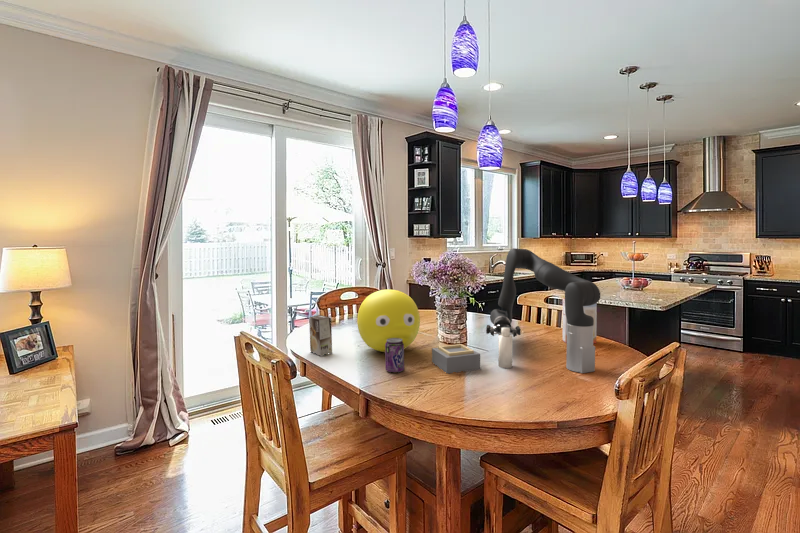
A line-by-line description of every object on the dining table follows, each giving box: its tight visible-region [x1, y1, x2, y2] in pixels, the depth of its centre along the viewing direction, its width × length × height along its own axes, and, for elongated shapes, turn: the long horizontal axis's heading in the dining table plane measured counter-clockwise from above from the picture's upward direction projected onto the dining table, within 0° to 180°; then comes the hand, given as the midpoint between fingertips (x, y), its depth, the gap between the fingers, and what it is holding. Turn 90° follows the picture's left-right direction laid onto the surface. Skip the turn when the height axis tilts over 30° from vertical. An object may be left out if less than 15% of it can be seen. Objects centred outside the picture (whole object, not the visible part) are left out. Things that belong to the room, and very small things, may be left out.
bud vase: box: [498, 327, 513, 369], centre depth 164 cm, size 5×5×15 cm
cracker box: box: [562, 297, 598, 344], centre depth 198 cm, size 14×6×21 cm, turn 84°
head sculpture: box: [356, 288, 421, 353], centre depth 187 cm, size 28×28×28 cm
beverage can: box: [384, 338, 405, 373], centre depth 160 cm, size 7×7×12 cm
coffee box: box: [308, 314, 333, 356], centre depth 186 cm, size 9×6×16 cm
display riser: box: [431, 343, 481, 374], centre depth 165 cm, size 14×14×7 cm
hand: (503, 334), depth 175 cm, fingers open, 8 cm apart
